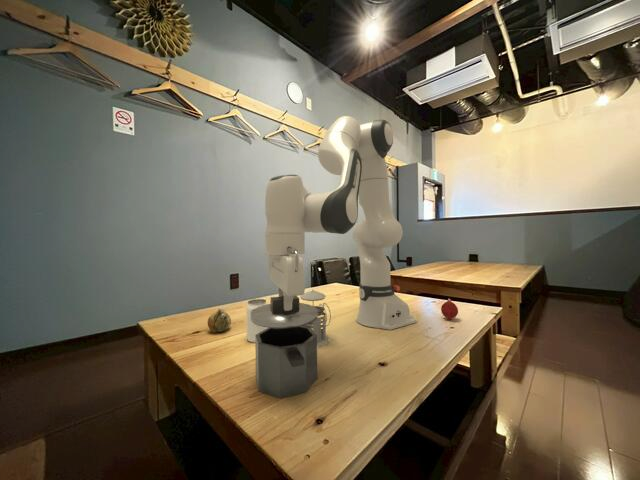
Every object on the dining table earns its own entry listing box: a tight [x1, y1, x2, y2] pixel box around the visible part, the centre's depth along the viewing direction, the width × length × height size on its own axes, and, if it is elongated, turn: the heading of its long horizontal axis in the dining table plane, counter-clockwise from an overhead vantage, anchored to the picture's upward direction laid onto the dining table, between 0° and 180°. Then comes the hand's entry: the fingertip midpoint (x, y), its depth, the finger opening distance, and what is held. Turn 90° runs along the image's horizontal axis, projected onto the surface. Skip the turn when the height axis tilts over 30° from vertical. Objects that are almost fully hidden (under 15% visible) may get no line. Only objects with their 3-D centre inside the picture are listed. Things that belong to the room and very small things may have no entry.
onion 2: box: [440, 298, 459, 321], centre depth 95 cm, size 6×6×8 cm
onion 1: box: [207, 308, 232, 333], centre depth 86 cm, size 8×8×8 cm
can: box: [246, 298, 267, 344], centre depth 79 cm, size 6×6×12 cm
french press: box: [299, 259, 332, 347], centre depth 77 cm, size 10×12×25 cm
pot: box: [255, 326, 318, 399], centre depth 57 cm, size 13×21×10 cm, turn 20°
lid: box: [251, 296, 319, 328], centre depth 57 cm, size 15×15×4 cm
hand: (285, 307), depth 57 cm, fingers closed on lid, 3 cm apart
